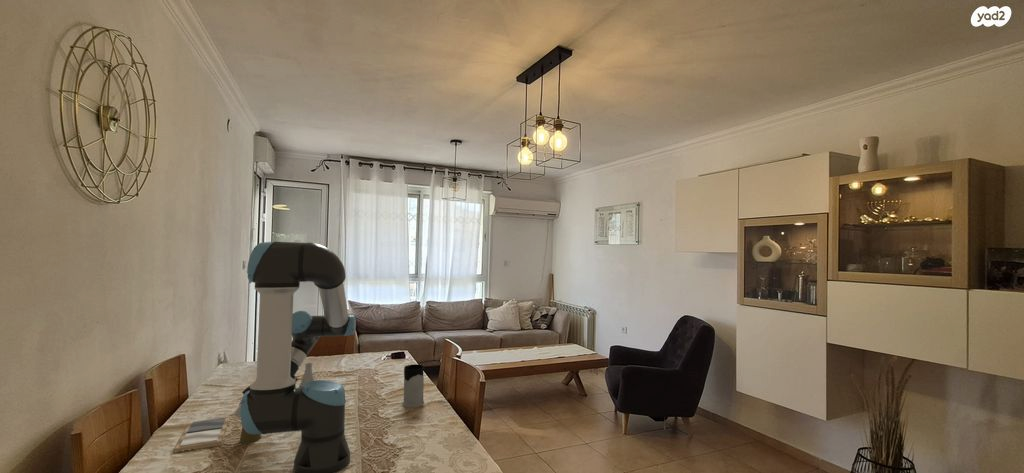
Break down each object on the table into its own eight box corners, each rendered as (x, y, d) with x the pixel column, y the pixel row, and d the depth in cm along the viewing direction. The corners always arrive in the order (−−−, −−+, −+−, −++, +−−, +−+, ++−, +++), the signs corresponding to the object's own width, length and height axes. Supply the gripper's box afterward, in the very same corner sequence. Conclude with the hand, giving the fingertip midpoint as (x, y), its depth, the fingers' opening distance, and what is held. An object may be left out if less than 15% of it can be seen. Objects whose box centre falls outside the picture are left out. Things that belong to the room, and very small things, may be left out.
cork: (256, 433, 148) (257, 401, 149) (264, 438, 144) (265, 405, 145) (236, 439, 144) (237, 405, 144) (243, 445, 140) (244, 410, 140)
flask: (299, 384, 203) (300, 362, 203) (316, 382, 206) (317, 360, 206) (299, 388, 196) (299, 366, 196) (316, 386, 199) (317, 364, 199)
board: (221, 445, 140) (221, 440, 140) (174, 452, 134) (174, 447, 134) (229, 420, 159) (229, 416, 159) (189, 426, 154) (189, 421, 154)
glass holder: (407, 409, 173) (408, 370, 173) (394, 399, 184) (394, 363, 185) (428, 404, 178) (428, 367, 178) (413, 395, 189) (414, 360, 190)
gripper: (258, 353, 161) (216, 408, 146) (311, 360, 152) (272, 419, 138) (270, 364, 166) (231, 419, 151) (322, 371, 157) (286, 430, 142)
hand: (251, 419), depth 144 cm, fingers open, 13 cm apart
